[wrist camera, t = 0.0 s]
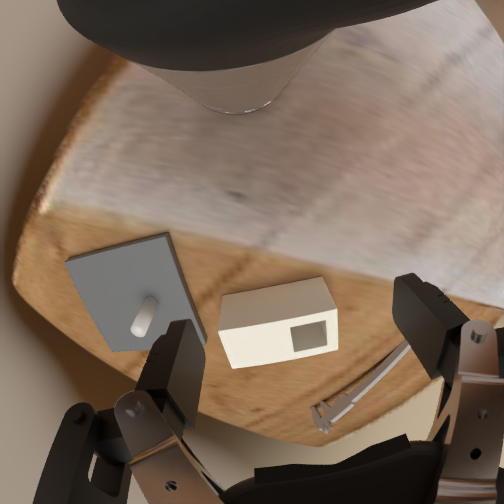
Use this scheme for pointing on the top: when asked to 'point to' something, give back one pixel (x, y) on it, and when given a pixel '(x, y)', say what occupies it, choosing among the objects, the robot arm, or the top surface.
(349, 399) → the caliper
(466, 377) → the robot arm
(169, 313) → the pin plate
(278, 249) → the top surface
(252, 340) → the socket block
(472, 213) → the top surface
